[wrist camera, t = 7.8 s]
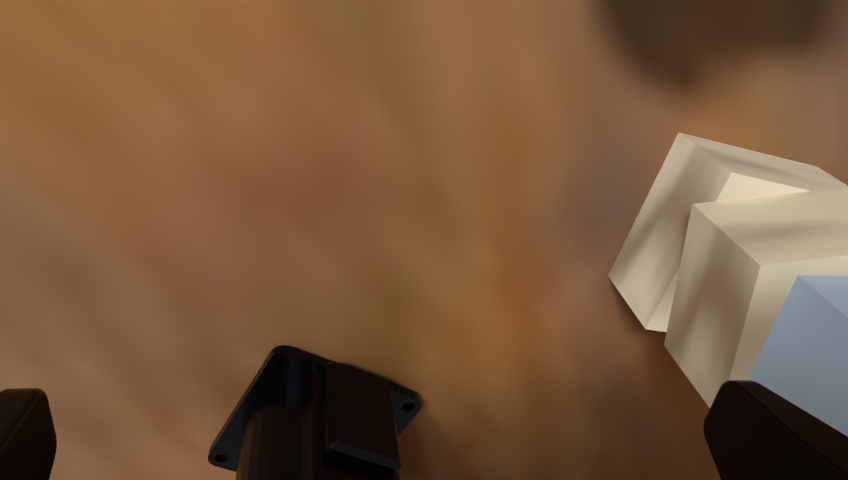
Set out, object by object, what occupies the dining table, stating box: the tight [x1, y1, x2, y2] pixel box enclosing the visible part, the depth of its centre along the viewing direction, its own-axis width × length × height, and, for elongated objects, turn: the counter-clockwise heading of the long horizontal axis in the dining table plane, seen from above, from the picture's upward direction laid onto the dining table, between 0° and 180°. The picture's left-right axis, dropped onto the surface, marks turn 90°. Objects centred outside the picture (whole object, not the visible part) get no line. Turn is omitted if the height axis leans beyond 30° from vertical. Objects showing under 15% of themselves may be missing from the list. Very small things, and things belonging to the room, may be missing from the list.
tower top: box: [664, 187, 848, 408], centre depth 20 cm, size 6×6×4 cm
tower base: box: [608, 133, 848, 332], centre depth 23 cm, size 6×6×4 cm
